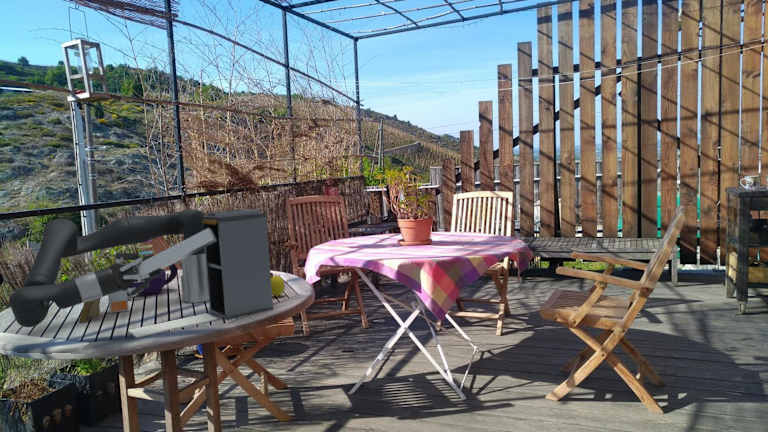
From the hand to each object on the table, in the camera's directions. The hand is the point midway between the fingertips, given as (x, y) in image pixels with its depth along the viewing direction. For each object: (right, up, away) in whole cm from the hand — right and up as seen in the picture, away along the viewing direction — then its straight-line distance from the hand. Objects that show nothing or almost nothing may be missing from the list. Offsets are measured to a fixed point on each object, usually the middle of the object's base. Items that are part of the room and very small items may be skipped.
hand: (158, 264), depth 159 cm
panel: (+5, +4, -2) cm, 7 cm away
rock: (-32, -20, +21) cm, 43 cm away
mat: (+2, -19, +6) cm, 20 cm away
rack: (+19, -17, +20) cm, 33 cm away
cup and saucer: (+20, -15, +51) cm, 57 cm away
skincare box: (-26, -19, +29) cm, 43 cm away
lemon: (+28, -15, +37) cm, 49 cm away
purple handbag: (-26, -17, +55) cm, 63 cm away
